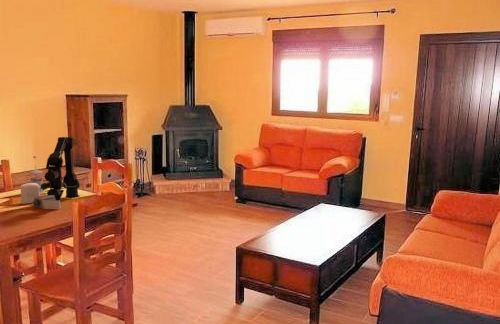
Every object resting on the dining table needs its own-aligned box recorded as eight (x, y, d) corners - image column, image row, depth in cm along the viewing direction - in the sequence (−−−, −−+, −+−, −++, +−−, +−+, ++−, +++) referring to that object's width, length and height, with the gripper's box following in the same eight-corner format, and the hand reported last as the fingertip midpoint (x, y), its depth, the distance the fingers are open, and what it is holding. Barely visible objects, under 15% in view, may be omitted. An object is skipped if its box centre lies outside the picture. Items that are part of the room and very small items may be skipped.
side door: (60, 208, 254) (60, 200, 253) (59, 209, 252) (59, 200, 251) (43, 208, 254) (42, 199, 253) (41, 209, 252) (41, 200, 251)
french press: (41, 194, 286) (38, 157, 282) (23, 194, 286) (20, 157, 282) (48, 190, 296) (45, 154, 291) (31, 190, 296) (28, 154, 292)
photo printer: (39, 200, 271) (38, 181, 268) (40, 202, 267) (39, 182, 265) (21, 203, 265) (19, 183, 263) (22, 204, 262) (20, 184, 259)
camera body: (49, 202, 266) (49, 193, 265) (58, 204, 262) (57, 195, 261) (32, 207, 256) (31, 197, 255) (40, 209, 252) (39, 199, 251)
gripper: (46, 173, 259) (48, 198, 262) (36, 181, 241) (38, 208, 244) (66, 173, 261) (67, 198, 264) (57, 181, 243) (59, 207, 246)
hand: (58, 202), depth 254 cm, fingers closed
